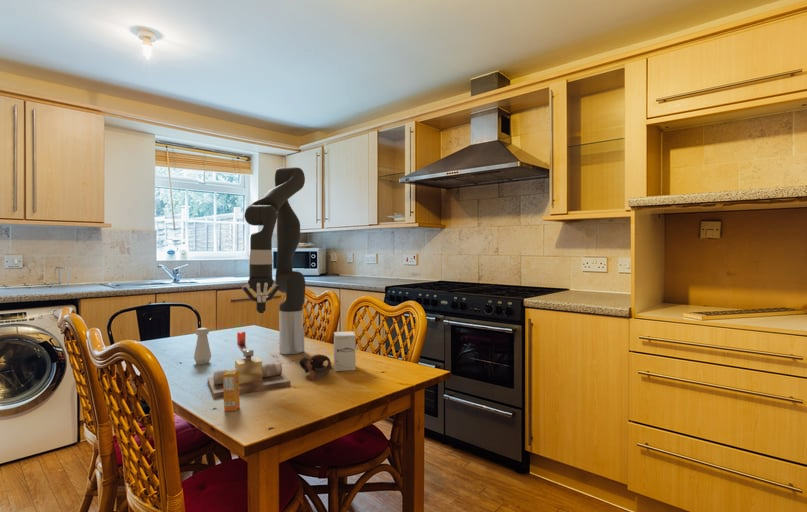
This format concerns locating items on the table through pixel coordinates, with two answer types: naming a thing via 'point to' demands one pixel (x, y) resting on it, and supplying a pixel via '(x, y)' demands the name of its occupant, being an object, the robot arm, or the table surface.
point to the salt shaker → (202, 347)
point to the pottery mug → (315, 366)
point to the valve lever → (243, 345)
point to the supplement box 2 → (344, 351)
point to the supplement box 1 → (231, 391)
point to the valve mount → (250, 377)
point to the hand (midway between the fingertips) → (260, 312)
